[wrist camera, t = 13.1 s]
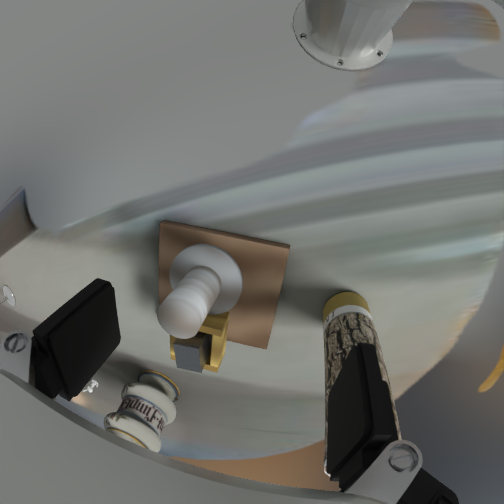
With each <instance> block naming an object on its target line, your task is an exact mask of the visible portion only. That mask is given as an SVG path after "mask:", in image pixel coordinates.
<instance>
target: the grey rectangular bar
mask: <svg viewBox="0 0 504 504" xmlns="http://www.w3.org/2000/svg"><path fill="white" fill-rule="evenodd" d="M212 339H213V335H211V334H208V333H204V332H200V331H198V332H197V334H196V335H195V336H193V337H191V338H188V339H181V338H176V340H175V341H174V343H173V346H174V352H175V358H176V364H177V368H181V369H186V370H190V371H195V372H200V373H201V372H202V370H203V368H204V366H205V364H206V361H207V359H208V357H209V355H210V353H211V350H212Z"/></svg>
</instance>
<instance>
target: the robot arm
mask: <svg viewBox="0 0 504 504" xmlns="http://www.w3.org/2000/svg"><path fill="white" fill-rule="evenodd" d="M412 1H413V0H303V1H302V2H301V3H300V4H299V5H298V7H297V9H296V11H295V13H294V17H293V28H294V32H295V36H296V39H297V40H298V42H299V44H300V46H301V47H302V48H303V49H304V50H305V51H306V53H307V54H309V55H310V56H311V57H312V58H313V59H315V60H317V61H318V62H320V63H322V64H324V65H326V66H328V67H331V68H334V69H338V70H343V71H361V70H365V69H369V68H371V67H373V66H376V65H377V64H378V63H380V62H381V61H382V60H383V59H384V58H385V57H386V56H387V54H388V53H389V51H390V49H391V46H392V39H393V35H392V29H391V28H392V27H393V26H394V25H395V23H396V22H397V21H398V19H399V18H400V17H401V16H402V14H403V13H404V12H405V10H406V9H407V8H408V7H409V5H410V4H411V3H412ZM493 1H494V2H496V3H497V4H498V5H499V6H501V7H502V8H503V9H504V0H493ZM302 37H305V39H301V38H302ZM377 54H379V55H380V56H378V55H377ZM337 63H341V65H338V64H337ZM33 334H34V336H33V337H32V338H31V336H30V334H28V333H27V332H25V331H19V330H18V331H13V332H11V333H9V334H7V335H6V336H5V337H4V338H3V340H2V342H1V345H0V504H459V502H458V498H457V496H456V494H455V493H454V492H453V491H452V490H450V489H449V488H447V487H446V486H445V485H443V484H442V483H441V482H439V481H438V480H437V479H435V478H434V477H432V476H431V475H430V474H428V473H427V472H426V471H425V470H423V469H422V468H421V465H422V455H421V452H420V451H419V449H418V447H417V446H415V445H414V444H413V443H411V442H409V441H405V440H398V434H397V428H396V422H395V417H394V411H393V406H392V401H391V396H390V392H389V387H388V384H387V382H386V381H385V380H382V375H381V370H380V366H379V362H378V357H377V353H376V349H375V346H374V344H369V343H363V342H359V343H358V344H357V346H356V345H353V346H352V347H351V349H350V352H349V354H348V356H347V358H346V360H345V362H344V364H343V366H342V368H341V370H340V372H339V374H338V376H337V378H336V380H335V382H334V384H333V386H332V388H331V390H330V392H329V396H328V432H327V463H326V472H327V474H330V481H339V487H340V488H341V489H340V490H339V491H338V492H335V491H325V490H315V489H306V488H297V487H290V486H283V485H277V484H271V483H265V482H259V481H254V480H249V479H244V478H239V477H234V476H231V475H226V474H222V473H219V472H215V471H211V470H207V469H204V468H201V467H197V466H194V465H191V464H188V463H185V462H181V461H178V460H176V459H173V458H170V457H167V456H164V455H162V454H159V453H156V452H154V451H151V450H149V449H146V448H144V447H141V446H139V445H137V444H134V443H132V442H130V441H128V440H125V439H123V438H121V437H119V436H117V435H115V434H113V433H111V432H109V431H107V430H105V429H103V428H101V427H99V426H97V425H95V424H93V423H91V422H89V421H87V420H86V419H84V418H82V417H80V416H79V415H77V414H75V413H73V412H72V411H70V410H68V409H67V408H65V407H63V406H62V405H60V404H59V403H57V402H56V396H57V395H58V394H59V395H60V396H61V397H63V398H64V399H66V400H68V401H70V400H71V399H72V398H73V396H74V397H76V396H77V395H78V394H79V393H80V392H81V390H82V389H83V388H84V387H85V385H86V384H87V383H88V382H89V380H90V379H91V378H92V377H93V375H94V374H95V373H96V372H97V370H98V369H99V368H100V367H101V365H102V364H103V363H104V362H105V361H106V359H107V358H108V357H109V356H110V355H111V353H112V352H113V351H114V350H115V349H116V347H117V346H118V345H119V343H120V339H121V336H120V330H119V323H118V316H117V308H116V300H115V291H114V288H113V287H112V285H111V283H110V282H109V281H105V280H102V279H99V278H97V279H95V280H94V281H93V282H91V283H90V284H89V285H88V286H86V287H85V288H84V289H82V290H81V291H80V292H79V293H77V294H76V295H75V296H74V297H72V298H71V299H70V300H69V301H67V302H66V303H65V304H64V305H63V306H61V307H60V308H59V309H58V310H56V311H55V312H54V313H53V314H52V315H50V316H49V317H48V318H47V319H46V320H45V321H43V322H42V323H41V324H40V325H39V326H38V327H36V328H35V329H34V330H33Z"/></svg>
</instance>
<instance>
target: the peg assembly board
mask: <svg viewBox="0 0 504 504" xmlns="http://www.w3.org/2000/svg"><path fill="white" fill-rule="evenodd" d="M289 249H290V245H287V244H282V243H277V242H272V241H267V240H262V239H257V238H252V237H248V236H243V235H238V234H233V233H228V232H223V231H218V230H212V229H207V228H202V227H197V226H192V225H187V224H182V223H177V222H171V221H166V220H164V221H162V222H161V223H160V233H159V308H158V310H157V318H158V321H159V323H160V325H161V326H162V328H163V329H164V330H165V331H166V332H167V333H169V334H170V352H171V359H173V360H176V358H175V352H174V346H173V343H174V341H175V340H176V338H181V339H188V338H191V337H193V336H195V335H196V334H197V332H198V331H200V332H204V333H208V334H211V335H213V339H212V350H211V353H210V355H209V357H208V359H207V361H206V364H205V366H204V368H203V369H206V370H210V371H213V372H217V371H218V369H219V366H220V364H221V361H222V359H223V356H224V354H225V346H226V340H228V341H232V342H236V343H240V344H245V345H249V346H253V347H258V348H262V349H267V346H268V341H269V337H270V333H271V329H272V325H273V321H274V316H275V312H276V308H277V304H278V299H279V295H280V291H281V286H282V282H283V277H284V273H285V268H286V263H287V259H288V254H289Z"/></svg>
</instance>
